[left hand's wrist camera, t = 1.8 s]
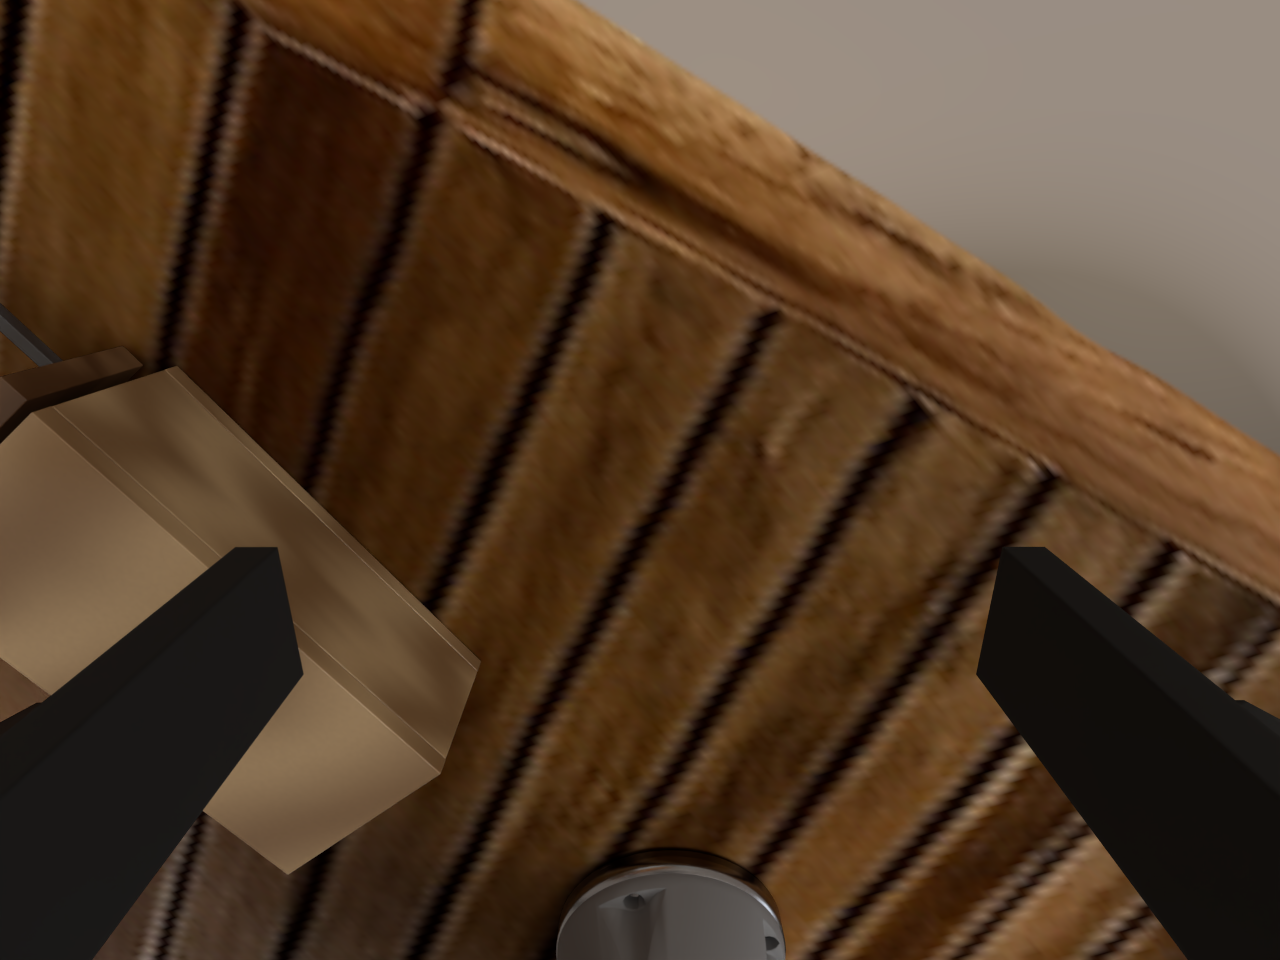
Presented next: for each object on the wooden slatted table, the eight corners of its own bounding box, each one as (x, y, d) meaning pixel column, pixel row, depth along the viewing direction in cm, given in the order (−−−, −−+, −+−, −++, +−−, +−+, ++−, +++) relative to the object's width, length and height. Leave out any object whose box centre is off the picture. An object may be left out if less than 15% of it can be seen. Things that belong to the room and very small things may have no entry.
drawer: (-88, 379, 33) (-258, 417, 27) (26, 253, 31) (-129, 262, 24) (316, 723, 40) (256, 815, 34) (431, 639, 38) (389, 722, 32)
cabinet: (48, 488, 36) (-122, 566, 28) (177, 365, 33) (31, 411, 25) (355, 749, 42) (287, 875, 34) (481, 661, 40) (441, 773, 32)
